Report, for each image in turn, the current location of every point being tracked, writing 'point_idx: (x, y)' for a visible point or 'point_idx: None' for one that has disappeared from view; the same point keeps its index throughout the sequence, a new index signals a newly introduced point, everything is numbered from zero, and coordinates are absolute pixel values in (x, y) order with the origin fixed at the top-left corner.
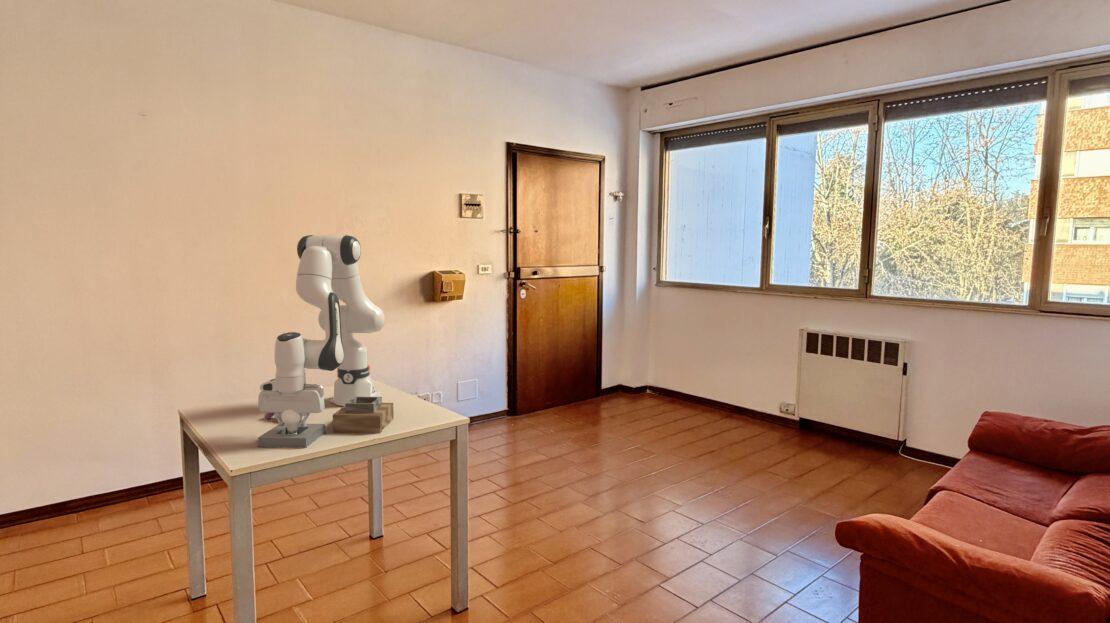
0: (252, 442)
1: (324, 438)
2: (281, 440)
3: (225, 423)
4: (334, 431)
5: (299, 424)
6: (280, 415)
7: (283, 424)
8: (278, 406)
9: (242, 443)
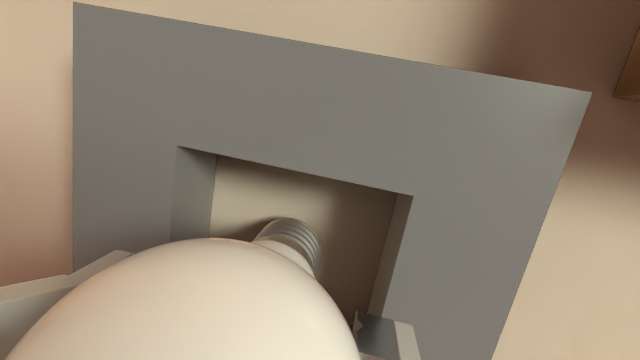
0: (56, 250)
1: (535, 263)
2: None
3: None
4: (632, 99)
5: (286, 79)
6: (10, 303)
7: None
8: None
9: (10, 257)
